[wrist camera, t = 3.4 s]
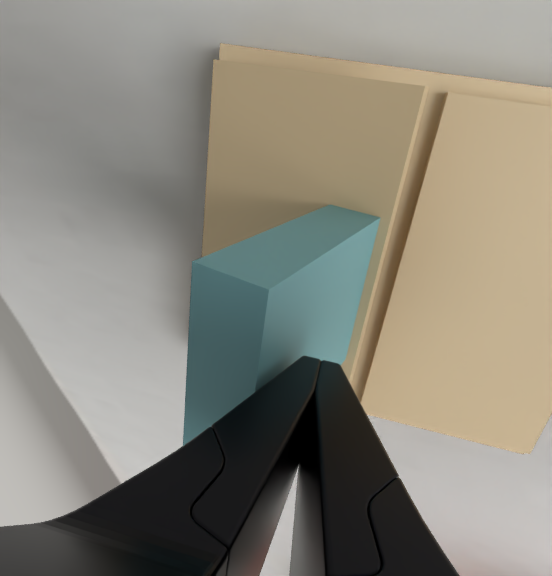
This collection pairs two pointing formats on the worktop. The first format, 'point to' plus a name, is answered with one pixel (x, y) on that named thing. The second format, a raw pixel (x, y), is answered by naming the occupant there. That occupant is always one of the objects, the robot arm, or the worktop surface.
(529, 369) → the carton
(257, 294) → the flap
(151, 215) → the worktop surface
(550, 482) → the worktop surface
